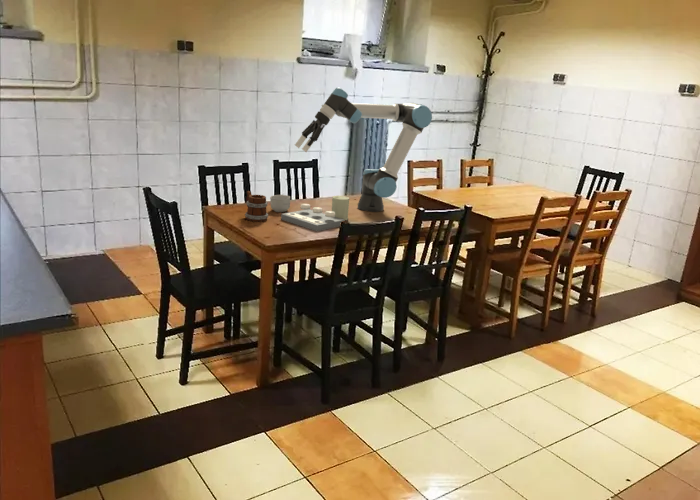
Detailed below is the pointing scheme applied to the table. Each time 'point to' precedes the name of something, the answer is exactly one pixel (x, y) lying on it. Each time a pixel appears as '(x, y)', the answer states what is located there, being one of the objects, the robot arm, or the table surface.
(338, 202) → the can
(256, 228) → the table surface
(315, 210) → the button middle
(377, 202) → the robot arm
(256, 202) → the mug
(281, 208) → the teacup
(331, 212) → the button
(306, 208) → the button
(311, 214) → the button board
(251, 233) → the table surface
